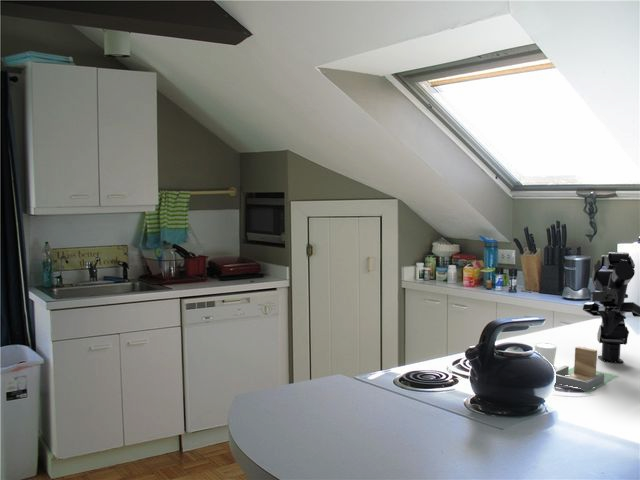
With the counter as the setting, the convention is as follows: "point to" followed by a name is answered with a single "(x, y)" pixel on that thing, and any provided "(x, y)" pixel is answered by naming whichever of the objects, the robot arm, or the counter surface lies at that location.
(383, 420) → the counter surface
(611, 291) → the robot arm
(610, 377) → the mat
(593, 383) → the pocket
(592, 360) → the bookend
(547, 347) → the white cup
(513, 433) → the counter surface
